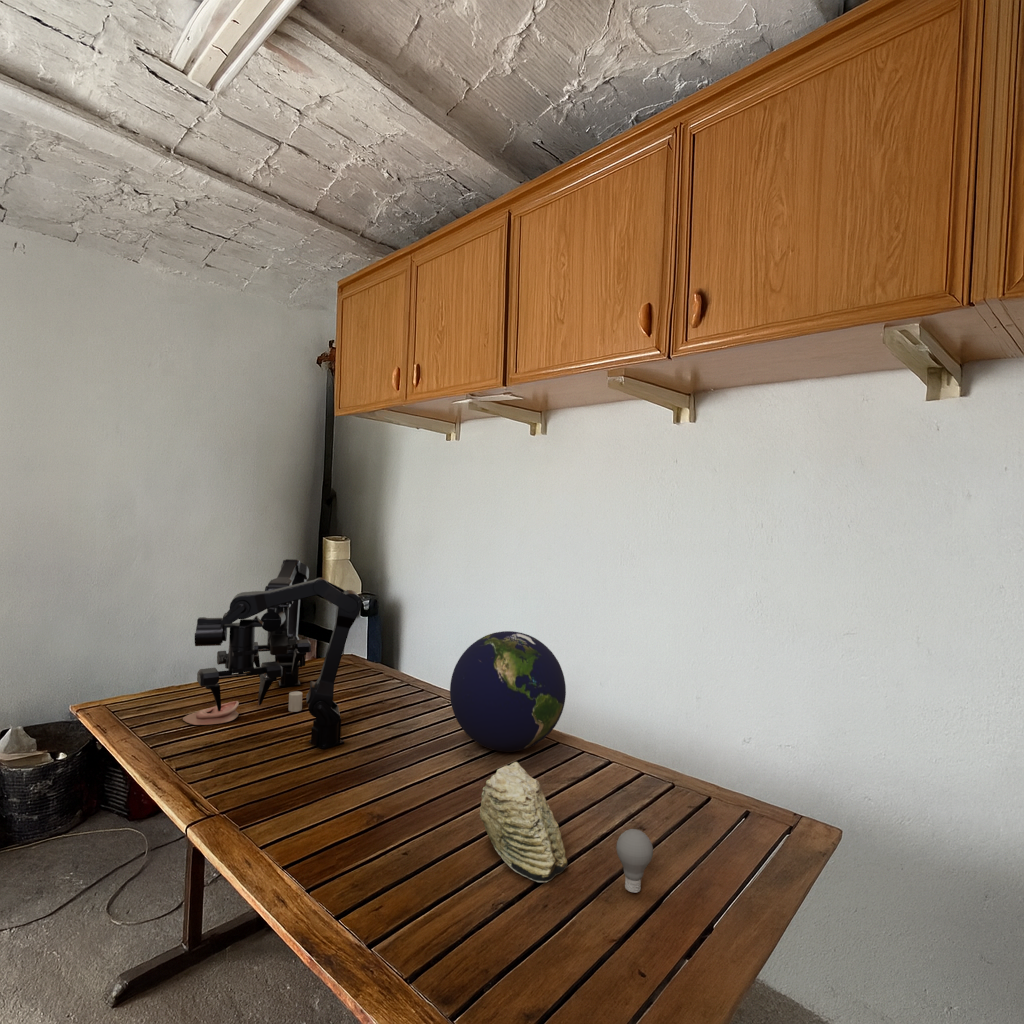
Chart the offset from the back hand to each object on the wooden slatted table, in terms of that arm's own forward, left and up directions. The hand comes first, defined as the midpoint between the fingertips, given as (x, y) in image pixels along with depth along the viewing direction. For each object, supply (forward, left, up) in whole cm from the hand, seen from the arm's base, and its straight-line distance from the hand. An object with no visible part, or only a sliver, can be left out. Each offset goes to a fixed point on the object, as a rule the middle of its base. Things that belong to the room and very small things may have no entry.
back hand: (276, 676), depth 189 cm
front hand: (+33, -10, +2) cm, 34 cm away
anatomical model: (+8, -17, -9) cm, 21 cm away
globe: (+50, +54, -9) cm, 74 cm away
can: (+6, +5, -9) cm, 12 cm away
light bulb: (+113, +51, -9) cm, 124 cm away
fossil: (+97, +38, -9) cm, 105 cm away
